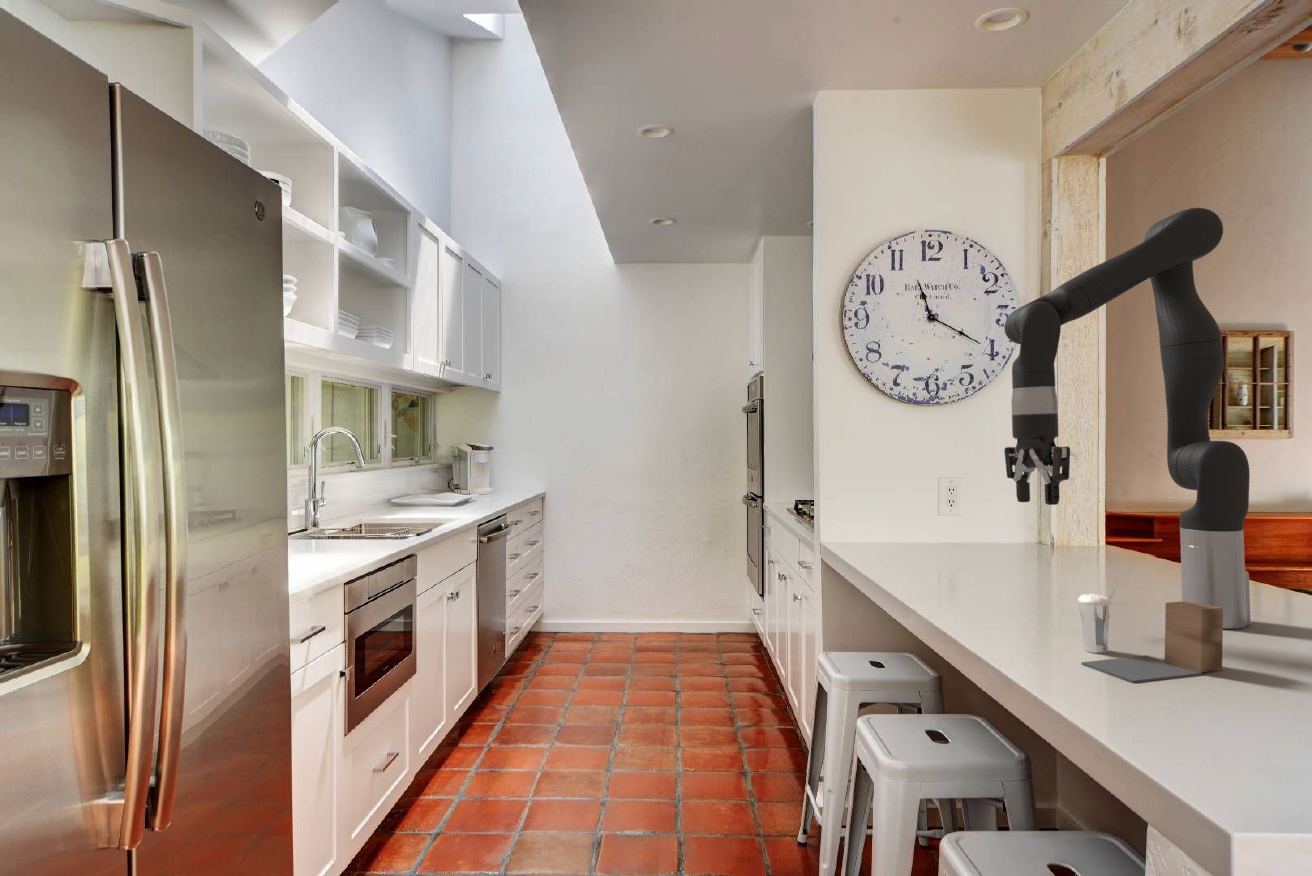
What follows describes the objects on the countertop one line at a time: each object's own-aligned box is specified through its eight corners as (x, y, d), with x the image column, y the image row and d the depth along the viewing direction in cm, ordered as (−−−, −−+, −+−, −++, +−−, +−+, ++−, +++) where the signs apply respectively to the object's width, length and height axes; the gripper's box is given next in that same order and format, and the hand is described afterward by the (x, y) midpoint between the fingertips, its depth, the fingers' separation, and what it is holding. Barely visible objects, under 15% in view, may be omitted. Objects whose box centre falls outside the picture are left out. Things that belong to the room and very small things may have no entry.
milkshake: (1123, 655, 114) (1121, 592, 114) (1085, 654, 115) (1083, 591, 115) (1111, 647, 118) (1109, 586, 119) (1075, 646, 119) (1073, 585, 120)
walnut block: (1185, 660, 111) (1186, 601, 111) (1222, 669, 106) (1223, 608, 106) (1164, 662, 109) (1165, 602, 109) (1200, 672, 104) (1201, 609, 104)
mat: (1146, 657, 113) (1146, 655, 113) (1201, 674, 104) (1201, 672, 104) (1081, 664, 110) (1081, 662, 110) (1132, 682, 101) (1132, 680, 101)
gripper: (1082, 410, 127) (1085, 505, 127) (1023, 414, 141) (1026, 499, 141) (1046, 410, 126) (1049, 507, 125) (990, 414, 140) (993, 501, 139)
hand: (1037, 502), depth 133 cm, fingers open, 6 cm apart
